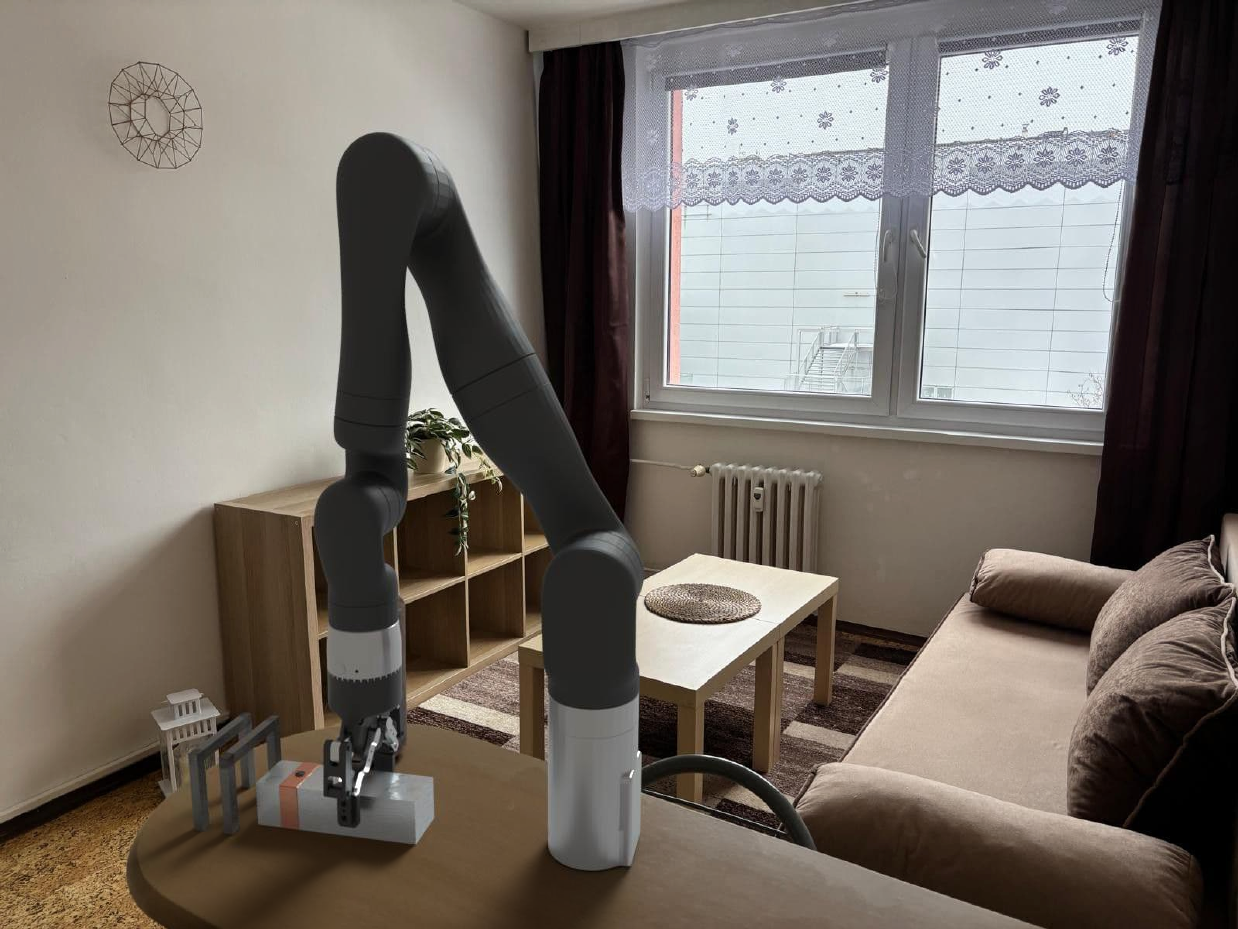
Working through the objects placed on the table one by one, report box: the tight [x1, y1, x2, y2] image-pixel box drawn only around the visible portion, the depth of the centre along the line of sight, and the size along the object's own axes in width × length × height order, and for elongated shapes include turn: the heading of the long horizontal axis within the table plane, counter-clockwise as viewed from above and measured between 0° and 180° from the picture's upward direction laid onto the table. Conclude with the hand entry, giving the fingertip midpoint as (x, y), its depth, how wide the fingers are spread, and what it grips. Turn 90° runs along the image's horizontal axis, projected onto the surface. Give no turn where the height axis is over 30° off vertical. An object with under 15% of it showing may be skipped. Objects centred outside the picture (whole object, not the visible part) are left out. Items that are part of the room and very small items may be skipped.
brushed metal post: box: [255, 759, 435, 845], centre depth 99 cm, size 18×5×5 cm, turn 79°
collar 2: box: [218, 715, 283, 836], centre depth 100 cm, size 1×10×9 cm, turn 169°
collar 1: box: [187, 712, 257, 832], centre depth 101 cm, size 1×10×9 cm, turn 169°
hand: (367, 803), depth 98 cm, fingers open, 8 cm apart
